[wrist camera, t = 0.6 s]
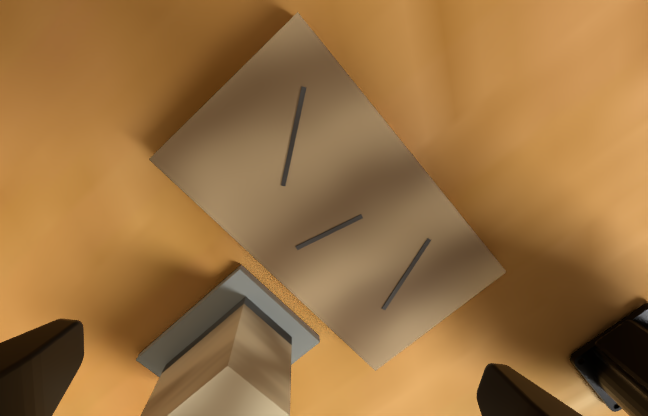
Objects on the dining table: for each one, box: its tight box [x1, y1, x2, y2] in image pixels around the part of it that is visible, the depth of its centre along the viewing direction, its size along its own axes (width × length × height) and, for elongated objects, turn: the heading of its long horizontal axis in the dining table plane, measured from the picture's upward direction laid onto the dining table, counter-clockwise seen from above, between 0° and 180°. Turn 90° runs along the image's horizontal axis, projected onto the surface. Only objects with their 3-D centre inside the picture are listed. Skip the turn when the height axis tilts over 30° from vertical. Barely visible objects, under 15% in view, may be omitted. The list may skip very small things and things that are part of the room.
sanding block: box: [141, 297, 292, 416], centre depth 20 cm, size 4×7×6 cm, turn 132°
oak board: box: [149, 12, 506, 371], centre depth 20 cm, size 18×10×2 cm, turn 42°
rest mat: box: [136, 265, 320, 377], centre depth 23 cm, size 7×9×1 cm
